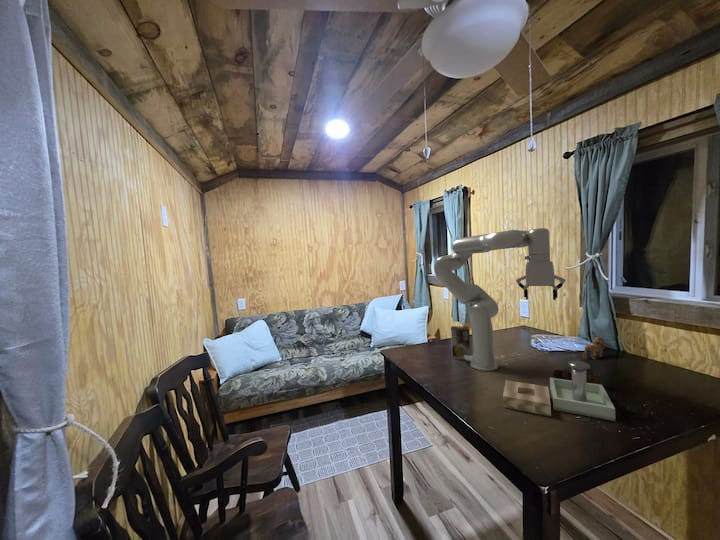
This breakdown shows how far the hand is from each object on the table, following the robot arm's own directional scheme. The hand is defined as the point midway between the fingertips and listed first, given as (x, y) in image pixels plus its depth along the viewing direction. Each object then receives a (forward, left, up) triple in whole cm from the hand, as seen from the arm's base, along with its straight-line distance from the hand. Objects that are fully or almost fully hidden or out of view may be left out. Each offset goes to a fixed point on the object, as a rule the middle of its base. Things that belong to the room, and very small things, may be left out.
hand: (540, 299), depth 117 cm
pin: (+10, -16, -33) cm, 38 cm away
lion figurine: (+23, +38, -35) cm, 56 cm away
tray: (+10, -16, -34) cm, 39 cm away
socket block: (-6, -23, -34) cm, 42 cm away
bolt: (+11, +2, -35) cm, 37 cm away
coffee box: (-36, +14, -35) cm, 52 cm away
